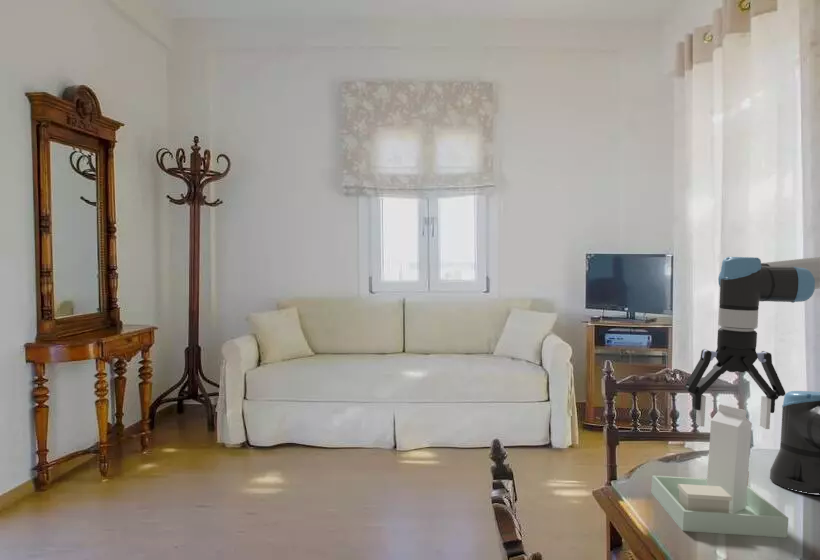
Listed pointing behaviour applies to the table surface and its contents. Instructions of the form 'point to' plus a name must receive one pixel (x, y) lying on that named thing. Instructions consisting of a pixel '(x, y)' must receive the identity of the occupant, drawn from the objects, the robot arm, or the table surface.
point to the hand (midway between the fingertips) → (732, 426)
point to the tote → (749, 521)
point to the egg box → (704, 498)
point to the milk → (730, 454)
